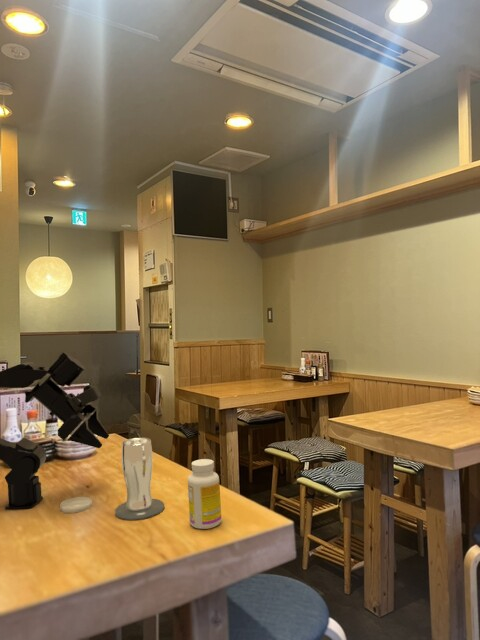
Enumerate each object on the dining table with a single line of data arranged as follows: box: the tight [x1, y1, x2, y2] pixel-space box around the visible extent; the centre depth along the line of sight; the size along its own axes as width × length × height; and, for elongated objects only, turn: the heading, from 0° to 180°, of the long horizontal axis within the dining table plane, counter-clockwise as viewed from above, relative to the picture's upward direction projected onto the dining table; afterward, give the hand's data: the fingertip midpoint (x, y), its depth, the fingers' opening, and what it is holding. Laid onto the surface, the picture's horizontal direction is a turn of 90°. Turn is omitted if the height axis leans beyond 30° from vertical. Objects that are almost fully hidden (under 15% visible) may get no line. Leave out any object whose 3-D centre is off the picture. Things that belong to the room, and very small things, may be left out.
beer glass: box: [121, 437, 154, 512], centre depth 109 cm, size 7×7×15 cm
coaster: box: [114, 498, 165, 521], centre depth 108 cm, size 11×11×1 cm
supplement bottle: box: [187, 458, 222, 530], centre depth 99 cm, size 7×7×13 cm
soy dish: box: [59, 496, 93, 514], centre depth 112 cm, size 7×7×1 cm
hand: (104, 441), depth 118 cm, fingers open, 9 cm apart
